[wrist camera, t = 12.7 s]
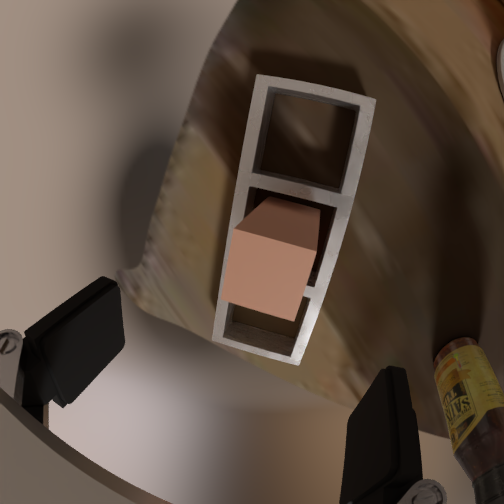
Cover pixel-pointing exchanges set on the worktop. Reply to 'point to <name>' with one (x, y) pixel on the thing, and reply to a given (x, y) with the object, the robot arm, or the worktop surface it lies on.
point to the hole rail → (336, 197)
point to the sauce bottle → (473, 415)
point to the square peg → (272, 257)
